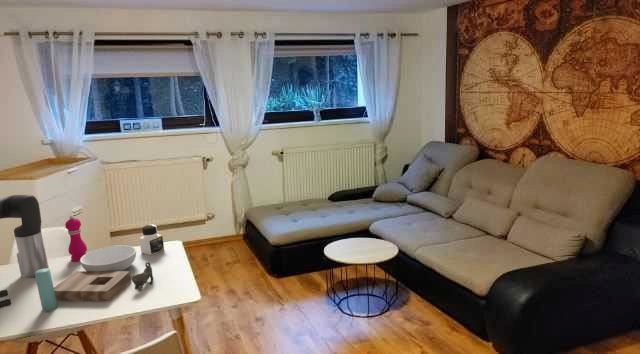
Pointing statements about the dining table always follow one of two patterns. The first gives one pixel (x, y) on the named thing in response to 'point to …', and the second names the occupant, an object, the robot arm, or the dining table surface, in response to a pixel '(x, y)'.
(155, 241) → the medicine bottle
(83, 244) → the pepper mill
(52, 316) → the dining table surface
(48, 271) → the pin
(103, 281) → the socket board
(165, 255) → the dining table surface
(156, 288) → the dining table surface
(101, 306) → the dining table surface
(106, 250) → the serving bowl
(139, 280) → the dog figurine
